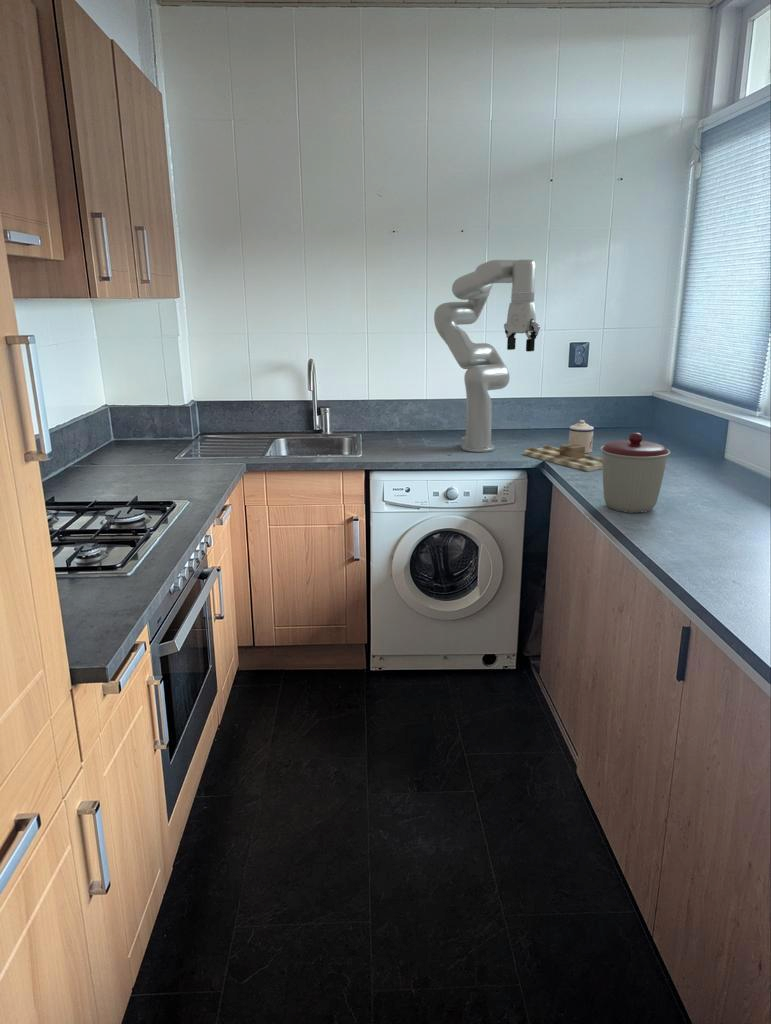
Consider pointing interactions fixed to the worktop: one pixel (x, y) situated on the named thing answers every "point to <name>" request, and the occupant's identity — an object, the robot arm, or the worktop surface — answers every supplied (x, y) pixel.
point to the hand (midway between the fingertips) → (520, 350)
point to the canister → (632, 473)
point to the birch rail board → (565, 458)
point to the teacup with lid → (581, 435)
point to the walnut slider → (572, 450)
